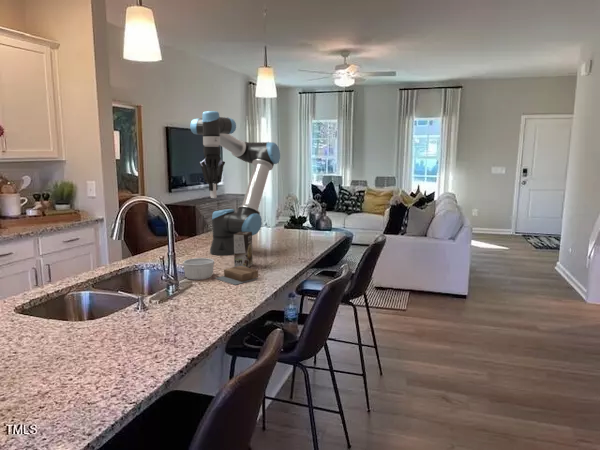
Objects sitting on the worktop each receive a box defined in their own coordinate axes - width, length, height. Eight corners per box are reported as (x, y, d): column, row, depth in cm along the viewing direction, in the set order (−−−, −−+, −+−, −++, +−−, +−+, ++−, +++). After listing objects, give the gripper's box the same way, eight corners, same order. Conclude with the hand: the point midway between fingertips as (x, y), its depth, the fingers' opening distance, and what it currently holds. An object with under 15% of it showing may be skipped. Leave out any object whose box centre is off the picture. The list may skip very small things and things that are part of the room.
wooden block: (240, 265, 199) (223, 269, 193) (258, 270, 191) (241, 274, 184) (240, 272, 199) (224, 276, 193) (258, 277, 191) (241, 281, 185)
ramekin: (204, 270, 204) (203, 256, 203) (220, 276, 194) (220, 260, 193) (177, 276, 195) (177, 261, 193) (194, 282, 185) (193, 266, 184)
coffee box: (247, 269, 206) (246, 234, 203) (234, 268, 207) (233, 234, 205) (253, 264, 215) (252, 231, 212) (240, 263, 216) (239, 231, 213)
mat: (237, 273, 199) (237, 272, 199) (257, 279, 190) (257, 278, 190) (215, 278, 191) (214, 277, 191) (235, 285, 181) (235, 284, 181)
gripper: (204, 146, 196) (206, 199, 200) (228, 146, 206) (229, 197, 210) (194, 146, 202) (197, 198, 205) (218, 146, 211) (220, 196, 215)
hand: (213, 197), depth 207 cm, fingers closed
